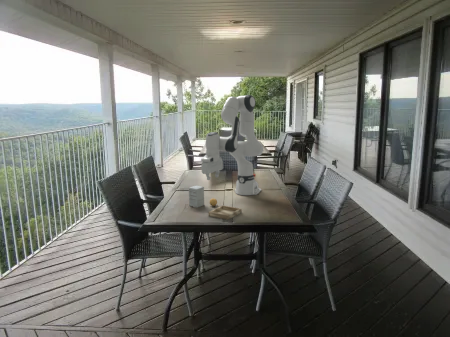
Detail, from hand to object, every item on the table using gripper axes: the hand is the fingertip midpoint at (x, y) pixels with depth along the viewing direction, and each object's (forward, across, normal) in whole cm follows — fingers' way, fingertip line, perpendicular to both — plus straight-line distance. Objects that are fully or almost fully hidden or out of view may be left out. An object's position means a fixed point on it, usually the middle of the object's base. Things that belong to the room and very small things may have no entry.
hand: (212, 178), depth 229 cm
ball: (+16, 0, 0) cm, 16 cm away
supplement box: (+19, +5, -10) cm, 22 cm away
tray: (+19, +11, +16) cm, 27 cm away
